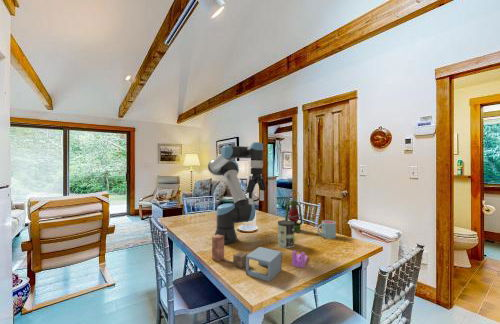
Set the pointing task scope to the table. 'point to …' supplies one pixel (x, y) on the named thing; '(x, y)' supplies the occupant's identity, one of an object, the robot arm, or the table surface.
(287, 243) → the coffee can
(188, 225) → the table surface
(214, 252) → the reddish brown block
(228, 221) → the robot arm
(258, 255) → the box
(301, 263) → the bracket
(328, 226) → the mug
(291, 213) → the lantern
